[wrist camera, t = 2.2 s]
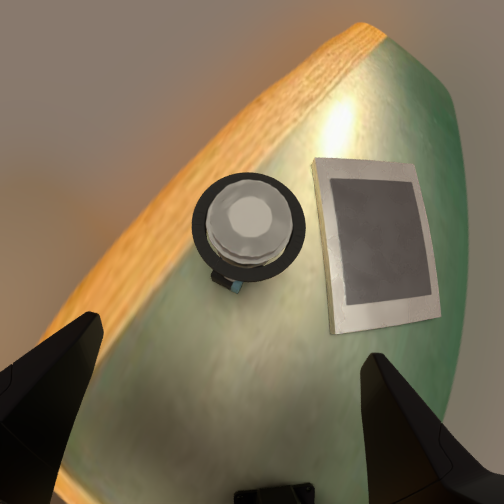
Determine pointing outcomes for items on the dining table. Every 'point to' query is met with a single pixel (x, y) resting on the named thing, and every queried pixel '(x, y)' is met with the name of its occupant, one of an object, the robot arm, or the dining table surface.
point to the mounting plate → (374, 244)
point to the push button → (247, 228)
